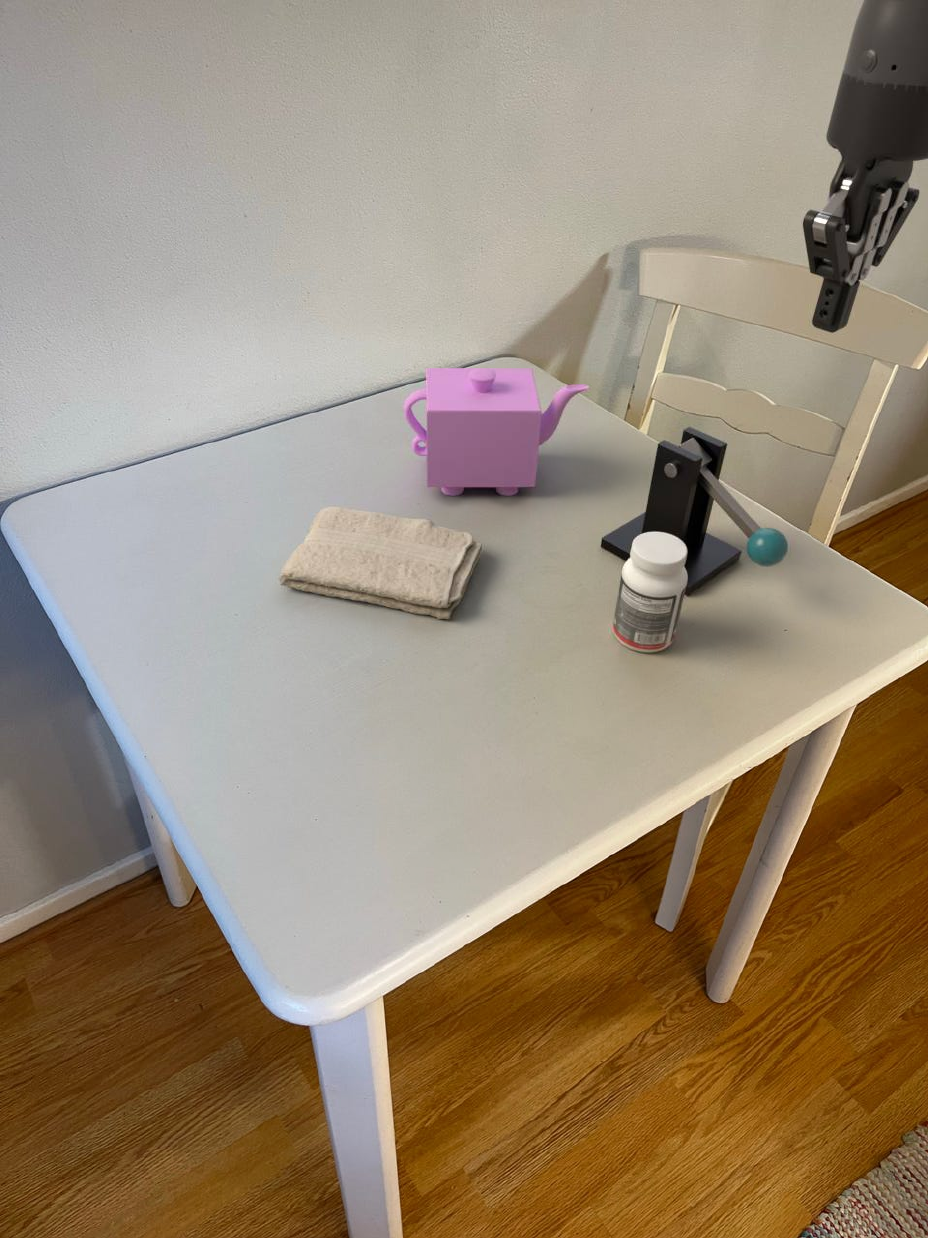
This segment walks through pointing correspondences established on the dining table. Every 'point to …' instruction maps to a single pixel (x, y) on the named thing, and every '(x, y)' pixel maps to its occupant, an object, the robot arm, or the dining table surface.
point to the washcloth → (384, 561)
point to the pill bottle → (651, 592)
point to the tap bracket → (681, 510)
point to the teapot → (483, 427)
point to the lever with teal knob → (741, 515)
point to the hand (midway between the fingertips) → (828, 327)
